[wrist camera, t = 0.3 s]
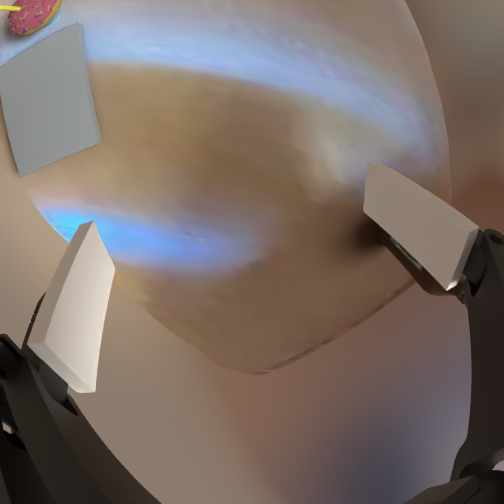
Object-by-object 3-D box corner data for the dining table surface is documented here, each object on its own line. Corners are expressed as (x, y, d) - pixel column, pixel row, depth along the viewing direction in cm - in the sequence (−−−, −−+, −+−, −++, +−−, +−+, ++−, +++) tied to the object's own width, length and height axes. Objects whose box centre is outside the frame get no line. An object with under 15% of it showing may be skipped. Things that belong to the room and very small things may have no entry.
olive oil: (417, 220, 54) (492, 288, 34) (388, 253, 57) (456, 329, 37) (400, 194, 48) (490, 266, 28) (368, 232, 52) (448, 317, 32)
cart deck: (7, 69, 18) (-3, 69, 16) (85, 26, 20) (78, 22, 18) (29, 171, 29) (20, 177, 26) (104, 139, 30) (98, 143, 28)
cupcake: (26, 48, 18) (-20, 45, 8) (22, 9, 13) (-19, -3, 3) (75, 19, 18) (38, -1, 9) (70, -21, 13) (38, -46, 4)
